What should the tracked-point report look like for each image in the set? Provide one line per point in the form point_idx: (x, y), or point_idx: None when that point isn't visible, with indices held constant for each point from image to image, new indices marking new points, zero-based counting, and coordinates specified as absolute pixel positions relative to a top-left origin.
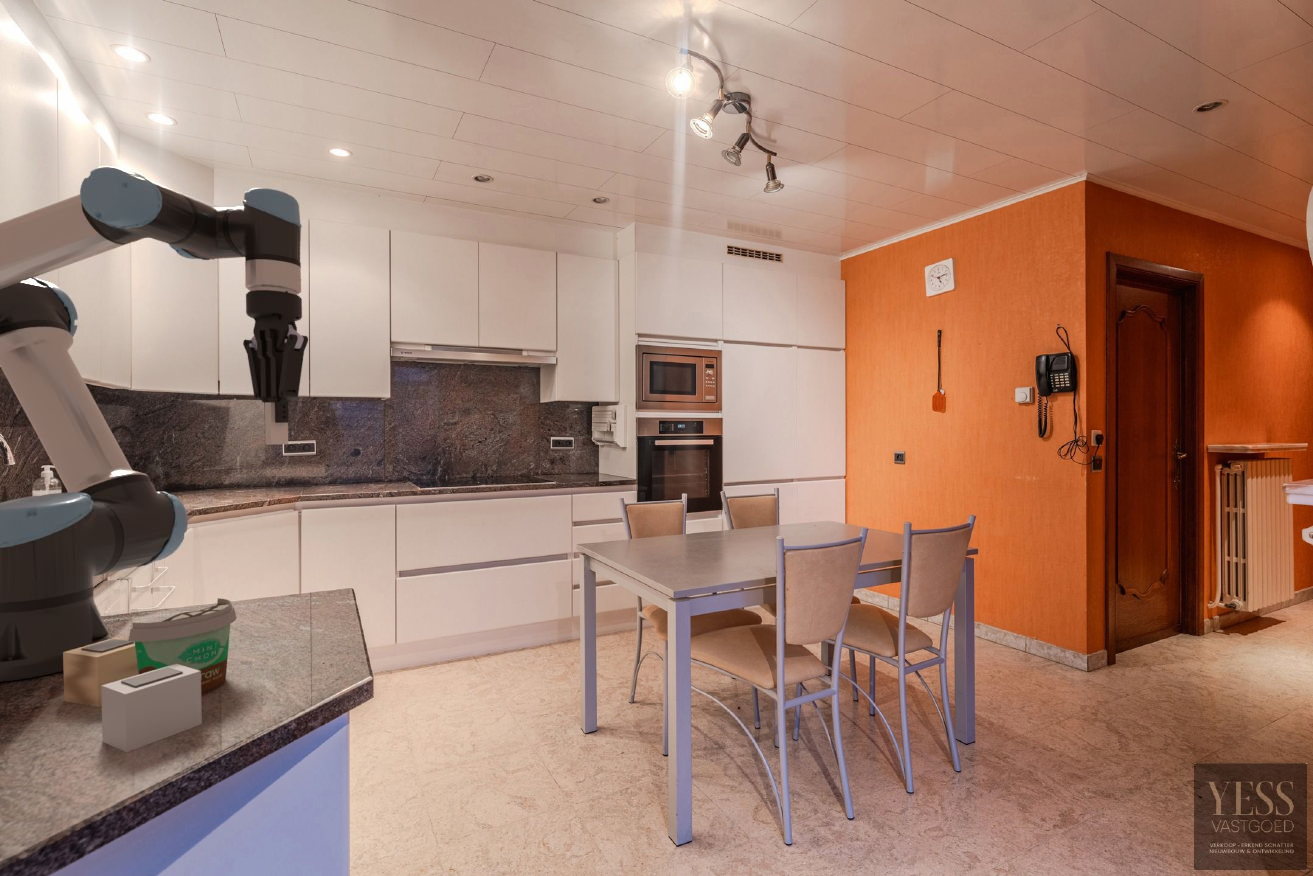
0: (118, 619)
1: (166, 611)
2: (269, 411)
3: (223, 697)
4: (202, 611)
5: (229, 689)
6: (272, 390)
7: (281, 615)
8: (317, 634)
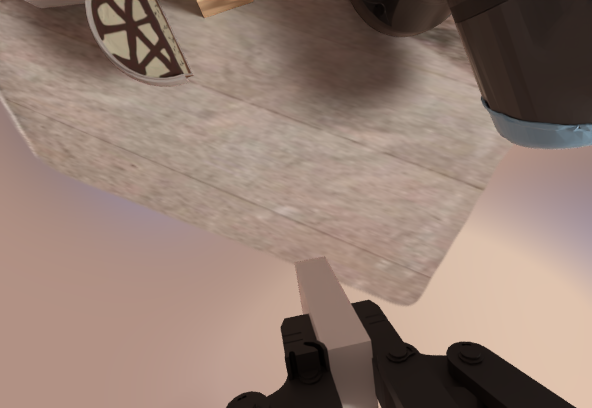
0: None
1: None
2: (324, 322)
3: None
4: (155, 44)
5: None
6: (328, 406)
7: (363, 215)
8: (246, 207)
